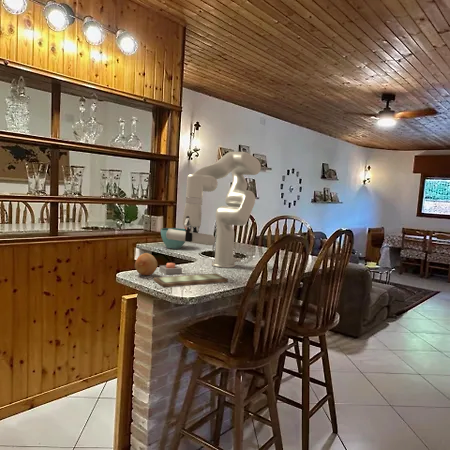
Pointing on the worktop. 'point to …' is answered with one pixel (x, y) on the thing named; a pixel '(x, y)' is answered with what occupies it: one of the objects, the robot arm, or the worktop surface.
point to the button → (170, 265)
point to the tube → (196, 237)
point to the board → (189, 280)
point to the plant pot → (169, 242)
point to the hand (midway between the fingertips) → (191, 240)
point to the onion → (146, 264)
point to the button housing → (170, 270)
